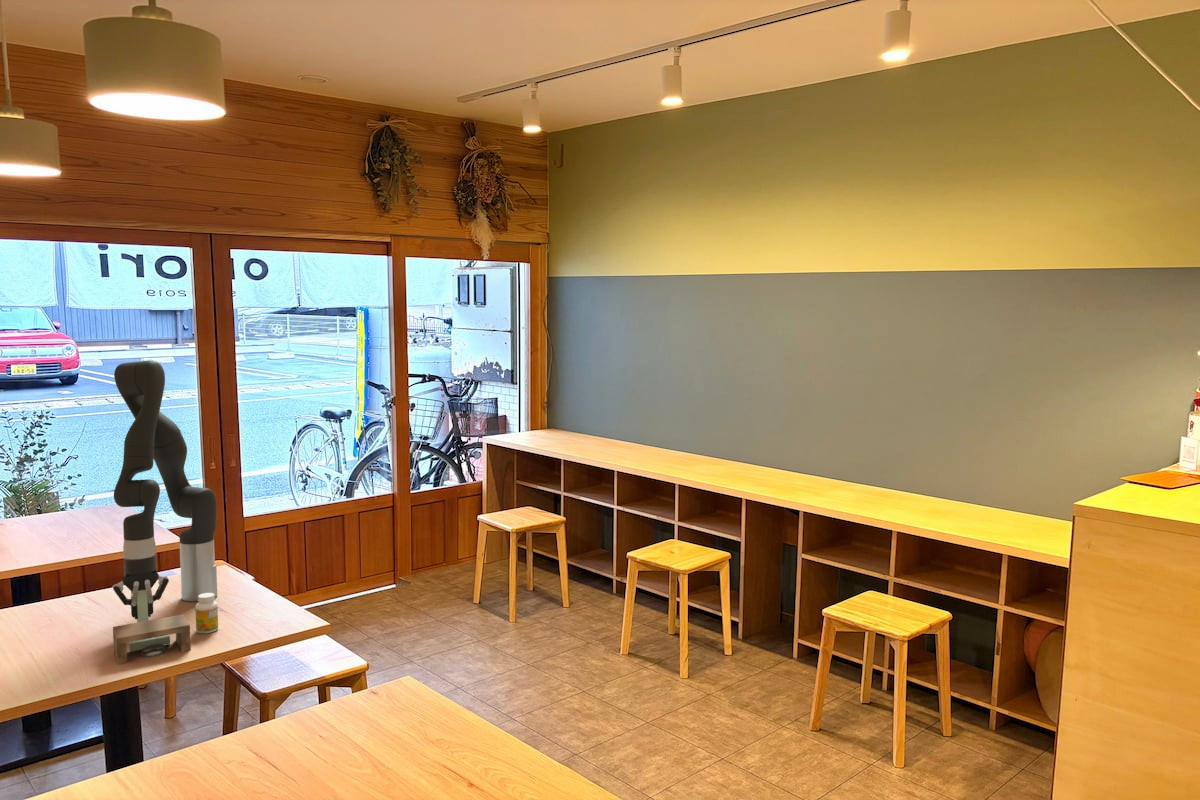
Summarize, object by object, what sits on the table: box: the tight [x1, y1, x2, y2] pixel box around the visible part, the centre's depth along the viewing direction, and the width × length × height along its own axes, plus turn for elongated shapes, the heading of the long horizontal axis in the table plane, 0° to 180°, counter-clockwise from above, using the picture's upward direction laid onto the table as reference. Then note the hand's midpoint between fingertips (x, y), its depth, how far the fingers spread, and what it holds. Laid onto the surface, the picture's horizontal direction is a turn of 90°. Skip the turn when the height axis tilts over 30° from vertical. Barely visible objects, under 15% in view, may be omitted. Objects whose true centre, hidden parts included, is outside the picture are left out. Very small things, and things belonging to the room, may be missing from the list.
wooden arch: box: [112, 614, 192, 665], centre depth 208 cm, size 16×9×6 cm, turn 125°
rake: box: [128, 590, 171, 652], centre depth 216 cm, size 9×16×13 cm, turn 35°
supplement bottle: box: [195, 593, 219, 634], centre depth 222 cm, size 5×5×10 cm
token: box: [141, 645, 166, 658], centre depth 207 cm, size 5×5×1 cm
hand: (142, 617), depth 221 cm, fingers closed on rake, 2 cm apart
